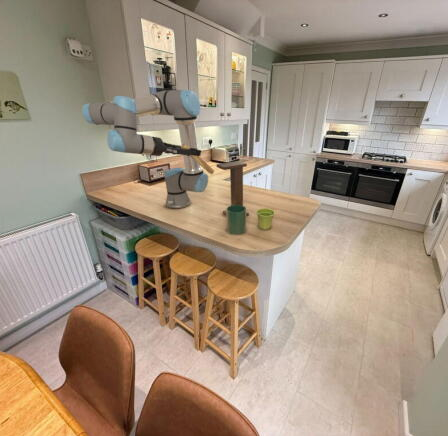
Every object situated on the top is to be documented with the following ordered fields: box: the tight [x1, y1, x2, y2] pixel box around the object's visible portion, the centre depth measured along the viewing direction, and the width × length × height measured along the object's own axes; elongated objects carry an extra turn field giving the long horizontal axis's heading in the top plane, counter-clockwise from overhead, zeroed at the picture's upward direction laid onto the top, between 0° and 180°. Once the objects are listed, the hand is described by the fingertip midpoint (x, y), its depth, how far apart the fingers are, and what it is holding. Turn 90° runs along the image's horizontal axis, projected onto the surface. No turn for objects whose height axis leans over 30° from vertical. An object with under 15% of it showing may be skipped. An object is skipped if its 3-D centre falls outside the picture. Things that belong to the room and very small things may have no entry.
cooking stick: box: [181, 144, 215, 175], centre depth 114 cm, size 2×22×2 cm
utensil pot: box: [226, 204, 247, 235], centre depth 117 cm, size 10×10×12 cm
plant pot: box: [256, 207, 276, 230], centre depth 121 cm, size 9×9×9 cm
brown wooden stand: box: [216, 160, 250, 217], centre depth 129 cm, size 11×14×30 cm
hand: (198, 152), depth 112 cm, fingers closed on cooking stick, 2 cm apart
